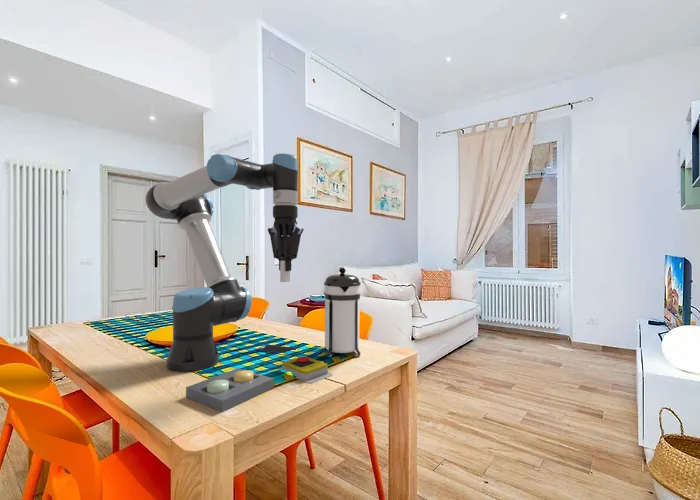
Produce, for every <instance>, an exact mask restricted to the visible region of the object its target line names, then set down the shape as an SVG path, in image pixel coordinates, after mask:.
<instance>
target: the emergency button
mask: <svg viewBox="0 0 700 500" xmlns="http://www.w3.org/2000/svg"><path fill="white" fill-rule="evenodd" d="M328 368H329V367H328V363H327V362H323V361H320V360H317V359H314V358H312V357H311V358H310V357H309V356H303V355H302V356H299V357H296V358H292V359H289V360H286V361H282V363H281V369H283V370H286V371H290V372H292V373H294V375H296V376H297V378H296V379H297V380H299V381H302V382H303V383H307V384H314V383H317V382H319V381H322V380H324V379H327V378H330V377H332V376H333V375H334V374H333V373H332V372H329V371H328V370H329V369H328Z"/></svg>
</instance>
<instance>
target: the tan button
mask: <svg viewBox="0 0 700 500" xmlns="http://www.w3.org/2000/svg"><path fill="white" fill-rule="evenodd" d="M242 370H243V371H238V372H236V373H234V381H235V382H238V383H241V384H244V383H246V382H248V381H251V380H253V373H254V371H252V370H246V369H242Z"/></svg>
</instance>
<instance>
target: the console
mask: <svg viewBox="0 0 700 500" xmlns="http://www.w3.org/2000/svg"><path fill="white" fill-rule="evenodd" d="M243 370H244V369H241V368H236V369H233V370H230V371H226V372H224V373H221V374H219V375H218V374H217V376H213V377H211V378H208V379H205V380H202V381H200V382H196V383H194V384H191V385H188V386H186V387H185V397H186V398H188V399H190V400H192V401H195V402H198V403H200V404H202V405H205V406H207V407H210V408H212V409H215V410H217V411H219V412H225V411H228V410H230V409H232V408H234V407H236V406H238V405H240V404H242V403H245V402H247V401H250V399H253V398H255V397H257V396H259V395H261V394H264V393H266V392H269V391H270V390H272V389H274V387H275V385H274V383H275V381H274V380H275V379H274V378H273V377H270V376H265V375H264V374H263V375H262V374H260V373H255V372H253V380H251V381H248V382H246V383H244V384H241V383H238V382H235V381H234V373H236V372H238V371H243ZM215 380H227V381H228V382H229V390H227V391H224V392H222V393H219V394H217V395H213V394H211V393H208V392H207V384H208V383H209V382H211V381H215Z"/></svg>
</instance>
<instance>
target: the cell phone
mask: <svg viewBox="0 0 700 500" xmlns="http://www.w3.org/2000/svg"><path fill="white" fill-rule="evenodd" d="M296 349H298V350H299V348H298V347H293V346H292V347H291V346H283V345H282V346H281V345H276V344H275V345H273V344H265V345H263V346H261V347H259V348H256V349H255V351H256V352H260V351H261V352H262V353H267V352H272V353H271V354H274V353H283V352H284V353H285V352H286V351H290V350H296Z"/></svg>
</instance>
